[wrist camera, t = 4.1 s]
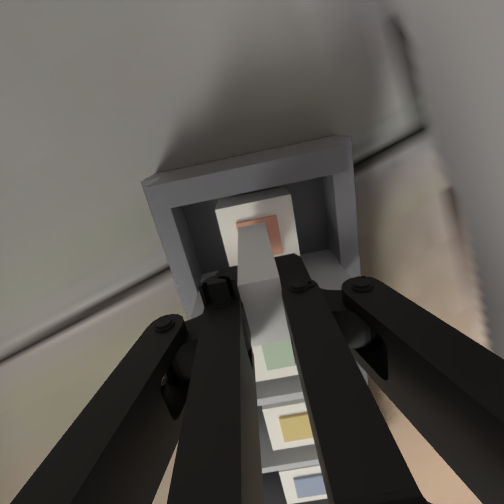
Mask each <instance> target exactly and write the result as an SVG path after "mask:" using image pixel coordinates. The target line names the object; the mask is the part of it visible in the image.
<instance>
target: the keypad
mask: <svg viewBox="0 0 504 504" xmlns="http://www.w3.org/2000/svg"><path fill="white" fill-rule="evenodd" d="M141 185H142V187H143V190H144V193H145V196H146V199H147V202H148V205H149V208H150V211H151V214H152V216H153V219H154V222H155V225H156V228H157V231H158V234H159V237H160V240H161V243H162V246H163V248H164V251H165V254H166V257H167V260H168V263H169V266H170V269H171V272H172V275H173V277H174V280H175V283H176V286H177V289H178V292H179V295H180V298H181V301H182V304H183V306H184V309H185V312H186V315H187V318H188V320H190V319H193V318H195V317H197V316H199V315H201V314H202V313H203V310H204V304H203V301H202V298H201V295H200V292H199V288H198V286H199V285H200V283H201V282H202V281H204V280H205V279H207V278H209V277H212V276H215V274H216V273H217V272H218V271H219V270H220V269H222V268H227V267H229V263H228V259H227V255H226V251H225V247H224V244H223V240H222V236H221V232H220V228H219V224H218V220H217V216H216V212H215V208H216V205H217V202H218V200H220V199H225V198H230V197H234V196H239V195H244V194H249V193H254V192H258V191H263V190H268V189H273V188H278V187H282V186H285V187H286V188H287V189H288V191H289V192H290V194H291V199H292V205H293V212H294V218H295V225H296V232H297V238H298V245H299V251H300V257H301V258H302V261H303V263H304V265H305V267H306V269H307V271H308V273H309V275H310V278H311V280H314V281H315V282H316V283H317V284H318V285H319V287H320V288H322V289H327V290H341V287H342V284H343V282H344V281H346V280H348V279H350V278H354V277H357V276H360V277H361V271H360V257H359V242H358V227H357V212H356V197H355V182H354V168H353V153H352V138H351V137H349V136H341V135H333V136H329V137H324V138H319V139H315V140H310V141H305V142H301V143H296V144H291V145H287V146H282V147H277V148H273V149H268V150H263V151H259V152H254V153H249V154H245V155H240V156H235V157H231V158H226V159H221V160H217V161H212V162H208V163H203V164H198V165H194V166H189V167H184V168H180V169H175V170H170V171H166V172H161V173H156V174H154V175H152V176H150V177H148V178H146V179H145V180H143V181H141ZM356 362H357V361H356ZM357 365H358V367H359V369H360V371H361V373H362V375H363V377H364V379H365V381H366V383H367V385H368V375H367V373H366V372H365V370H364V369H363V368H362V367H361V366H360V365H359V364H358V363H357ZM256 392H257V407H258V421H259V436H260V450H261V465H262V479H263V494H264V504H287V501H286V498H285V494H284V490H283V486H282V482H281V479H280V475H279V471H280V470H286V469H293V468H299V467H305V466H311V465H318V464H319V460H318V456H317V451H316V447H315V444H311V445H305V446H299V447H293V448H286V449H280V450H274V451H273V449H272V445H271V441H270V437H269V433H268V430H267V426H266V422H265V418H264V415H263V411H262V405H267V404H273V403H279V402H285V401H290V400H296V399H302V398H304V396H303V392H302V388H301V383H300V379H299V375H293V376H287V377H282V378H276V379H270V380H265V381H259V382H256ZM294 504H329V503H328V498H327V499H320V500H314V501H307V502H301V503H294Z"/></svg>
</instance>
